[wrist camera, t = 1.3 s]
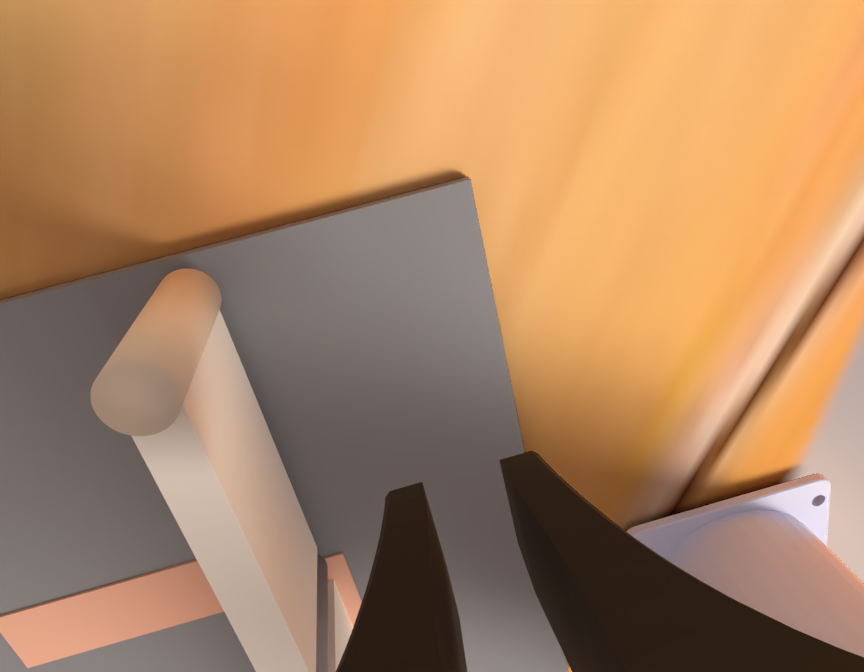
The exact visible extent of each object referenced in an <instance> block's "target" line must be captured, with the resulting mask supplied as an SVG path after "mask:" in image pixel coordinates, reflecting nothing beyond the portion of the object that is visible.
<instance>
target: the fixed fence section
mask: <svg viewBox="0 0 864 672" xmlns="http://www.w3.org/2000/svg"><path fill="white" fill-rule="evenodd" d="M352 630H353V625H352V623H351V620H350V618H349V616H348V613H347V611H346V608H345V606H344V603H343V601H342V598H341V596H340V593H339V591H338V588H337V586H336V584H335V581H334V580H331V581H328V672H336V670H337V667H338V665H339V663H340V660H341V658H342V655H343V653H344V651H345V648H346V645H347V643H348V640H349V638H350V635H351V632H352Z"/></svg>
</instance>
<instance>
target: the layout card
mask: <svg viewBox="0 0 864 672" xmlns="http://www.w3.org/2000/svg"><path fill="white" fill-rule="evenodd" d="M185 268H188V269H195V270H199V271H201V272H204V273H205V274H207V275H208V276H210V277H211V278H212V279H213V280H214V281H215V282H216V284H217V285H218V287H219V289H220V292H221V297H222V301H221V307H220V312H221V314H222V316H223V319H224V321H225V324H226V326H227V329H228V331H229V333H230V336H231V338H232V341H233V343H234V346H235V348H236V351H237V353H238V355H239V358H240V360H241V363H242V365H243V368H244V370H245V373H246V375H247V377H248V380H249V382H250V385H251V387H252V390H253V392H254V394H255V397H256V399H257V402H258V404H259V407H260V409H261V412H262V414H263V416H264V419H265V421H266V424H267V426H268V429H269V431H270V433H271V436H272V438H273V441H274V443H275V446H276V448H277V451H278V453H279V455H280V458H281V460H282V463H283V465H284V468H285V470H286V472H287V475H288V477H289V480H290V482H291V485H292V487H293V490H294V492H295V494H296V497H297V499H298V502H299V504H300V507H301V509H302V511H303V514H304V516H305V519H306V521H307V524H308V526H309V529H310V531H311V533H312V536H313V538H314V541H315V543H316V546H317V554H319V555H321V556H322V557H323V558H324V559H325V560H326V562H327V566H328V581H331V580H334V581H335V584H336V586H337V588H338V591H339V593H340V596H341V598H342V601H343V603H344V606H345V608H346V611H347V613H348V616H349V618H350V620H351V623H352V625H353V627H354V624H355V621H356V618H357V615H358V612H359V609H360V606H361V603H362V600H363V597H364V594H365V591H366V588H367V584H368V581H369V577H370V573H371V569H372V566H373V562H374V558H375V554H376V550H377V546H378V541H379V537H380V532H381V527H382V521H383V515H384V507H385V497H386V496H387V494H388V493H389V491H392V490H395V489H399V488H402V487H406V486H409V485H413V484H416V483H420V482H422V483H423V486H424V490H425V493H426V497H427V500H428V503H429V507H430V510H431V514H432V517H433V520H434V524H435V527H436V531H437V534H438V537H439V541H440V544H441V548H442V551H443V554H444V558H445V561H446V565H447V569H448V573H449V577H450V581H451V585H452V589H453V593H454V597H455V601H456V605H457V609H458V613H459V618H460V624H461V631H462V638H463V645H464V652H465V659H466V666H467V672H568V668H567V662H566V657H565V655H564V653H563V651H562V649H561V646H560V644H559V642H558V640H557V638H556V636H555V634H554V632H553V630H552V628H551V625H550V623H549V621H548V619H547V617H546V615H545V613H544V611H543V608H542V606H541V604H540V602H539V600H538V598H537V596H536V593H535V591H534V588H533V585H532V582H531V579H530V577H529V574H528V571H527V568H526V565H525V562H524V559H523V556H522V554H521V551H520V548H519V545H518V542H517V537H516V533H515V528H514V524H513V519H512V515H511V510H510V506H509V501H508V497H507V492H506V488H505V483H504V479H503V474H502V470H501V465H500V460H501V459H504V458H508V457H511V456H515V455H518V454H522V453H525V451H524V446H523V441H522V436H521V431H520V426H519V421H518V416H517V411H516V406H515V401H514V396H513V391H512V386H511V381H510V376H509V371H508V366H507V361H506V356H505V351H504V346H503V340H502V335H501V330H500V325H499V320H498V315H497V310H496V305H495V300H494V295H493V290H492V285H491V280H490V275H489V270H488V265H487V260H486V255H485V250H484V245H483V240H482V235H481V230H480V225H479V220H478V215H477V210H476V205H475V200H474V195H473V190H472V185H471V179H470V178H469V177H464V178H460V179H456V180H452V181H449V182H445V183H441V184H437V185H433V186H430V187H426V188H422V189H418V190H415V191H411V192H407V193H403V194H399V195H396V196H392V197H388V198H384V199H381V200H377V201H373V202H369V203H365V204H362V205H358V206H354V207H350V208H347V209H343V210H339V211H335V212H331V213H328V214H324V215H320V216H316V217H313V218H309V219H305V220H301V221H297V222H294V223H290V224H286V225H282V226H279V227H275V228H271V229H267V230H263V231H260V232H256V233H252V234H248V235H244V236H241V237H237V238H233V239H229V240H226V241H222V242H218V243H214V244H210V245H207V246H203V247H199V248H195V249H192V250H188V251H184V252H180V253H176V254H173V255H169V256H165V257H161V258H158V259H154V260H150V261H146V262H142V263H139V264H135V265H131V266H127V267H124V268H120V269H116V270H112V271H108V272H105V273H101V274H97V275H93V276H90V277H86V278H82V279H78V280H74V281H71V282H67V283H63V284H59V285H55V286H52V287H48V288H44V289H40V290H37V291H33V292H29V293H25V294H21V295H18V296H14V297H10V298H6V299H3V300H0V672H256V671H255V669H254V667H253V665H252V663H251V661H250V659H249V658H248V656H247V654H246V652H245V650H244V648H243V646H242V644H241V642H240V641H239V639H238V637H237V635H236V633H235V631H234V629H233V627H232V625H231V624H230V622H229V620H228V618H227V616H226V614H225V612H224V610H223V608H222V606H221V605H220V603H219V601H218V599H217V597H216V595H215V593H214V591H213V589H212V588H211V586H210V584H209V582H208V580H207V578H206V576H205V574H204V572H203V571H202V569H201V567H200V565H199V563H198V561H197V559H196V557H195V555H194V554H193V552H192V550H191V548H190V546H189V544H188V542H187V540H186V538H185V536H184V535H183V533H182V531H181V529H180V527H179V525H178V523H177V521H176V519H175V518H174V516H173V514H172V512H171V510H170V508H169V506H168V504H167V502H166V501H165V499H164V497H163V495H162V493H161V491H160V489H159V487H158V485H157V484H156V482H155V480H154V478H153V476H152V474H151V472H150V470H149V468H148V466H147V465H146V463H145V461H144V459H143V457H142V455H141V453H140V451H139V449H138V448H137V446H136V444H135V442H134V440H133V438H132V436H131V435H126V434H123V433H120V432H117V431H115V430H113V429H112V428H110V427H108V426H107V425H106V424H104V423H103V422H102V421H101V420H100V419H99V417H98V416H97V415H96V413H95V412H94V409H93V407H92V404H91V398H90V393H91V388H92V385H93V383H94V381H95V379H96V378H97V376H98V375H99V373H100V372H101V370H102V369H103V367H104V366H105V364H106V363H107V361H108V360H109V358H110V357H111V355H112V354H113V352H114V351H115V349H116V348H117V346H118V345H119V344H120V342H121V341H122V339H123V338H124V336H125V335H126V333H127V332H128V330H129V329H130V327H131V326H132V324H133V323H134V321H135V320H136V318H137V317H138V315H139V314H140V312H141V311H142V309H143V308H144V306H145V305H146V303H147V302H148V300H149V299H150V298H151V296H152V295H153V293H154V292H155V290H156V289H157V287H158V286H159V284H160V283H161V281H162V280H163V279H164V277H165V276H167V275H168V274H169V273H171V272H173V271H175V270H178V269H185Z"/></svg>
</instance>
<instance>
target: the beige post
mask: <svg viewBox="0 0 864 672" xmlns="http://www.w3.org/2000/svg"><path fill="white" fill-rule="evenodd" d="M221 301H222V297H221V292H220V289H219V287H218V285H217V284H216V282H215V281H214V280H213V279H212V278H211V277H210V276H208V275H207V274H205V273H204V272H201V271H199V270H195V269H188V268H185V269H178V270H175V271H173V272H171V273H169V274H168V275H167V276H165V277H164V279H163V280H162V281H161V283H160V284H159V286H158V287H157V289H156V290H155V292H154V293H153V295H152V296H151V298H150V299H149V300H148V302H147V303H146V305H145V306H144V308H143V309H142V311H141V312H140V314H139V315H138V317H137V318H136V320H135V321H134V323H133V324H132V326H131V327H130V329H129V330H128V332H127V333H126V335H125V336H124V338H123V339H122V341H121V342H120V344H119V345H118V346H117V348H116V349H115V351H114V352H113V354H112V355H111V357H110V358H109V360H108V361H107V363H106V364H105V366H104V367H103V369H102V370H101V372H100V373H99V375H98V376H97V378H96V379H95V381H94V383H93V385H92V388H91V393H90V398H91V404H92V407H93V409H94V412H95V413H96V415H97V416H98V417H99V419H100V420H101V421H102V422H103V423H104V424H106V425H107V426H108V427H110V428H112V429H113V430H115V431H117V432H120V433H123V434H126V435H131V436H132V438H133V440H134V442H135V444H136V446H137V448H138V449H139V451H140V453H141V455H142V457H143V459H144V461H145V463H146V465H147V466H148V468H149V470H150V472H151V474H152V476H153V478H154V480H155V482H156V484H157V485H158V487H159V489H160V491H161V493H162V495H163V497H164V499H165V501H166V502H167V504H168V506H169V508H170V510H171V512H172V514H173V516H174V518H175V519H176V521H177V523H178V525H179V527H180V529H181V531H182V533H183V535H184V536H185V538H186V540H187V542H188V544H189V546H190V548H191V550H192V552H193V554H194V555H195V557H196V559H197V561H198V563H199V565H200V567H201V569H202V571H203V572H204V574H205V576H206V578H207V580H208V582H209V584H210V586H211V588H212V589H213V591H214V593H215V595H216V597H217V599H218V601H219V603H220V605H221V606H222V608H223V610H224V612H225V614H226V616H227V618H228V620H229V622H230V624H231V625H232V627H233V629H234V631H235V633H236V635H237V637H238V639H239V641H240V642H241V644H242V646H243V648H244V650H245V652H246V654H247V656H248V658H249V659H250V661H251V663H252V665H253V667H254V669H255V671H256V672H328V566H327V562H326V560H325V559H324V558H323V557H322V556H321V555H319V554H317V546H316V543H315V541H314V538H313V536H312V533H311V531H310V529H309V526H308V524H307V521H306V519H305V516H304V514H303V511H302V509H301V507H300V504H299V502H298V499H297V497H296V494H295V492H294V490H293V487H292V485H291V482H290V480H289V477H288V475H287V472H286V470H285V468H284V465H283V463H282V460H281V458H280V455H279V453H278V451H277V448H276V446H275V443H274V441H273V438H272V436H271V433H270V431H269V429H268V426H267V424H266V421H265V419H264V416H263V414H262V412H261V409H260V407H259V404H258V402H257V399H256V397H255V394H254V392H253V390H252V387H251V385H250V382H249V380H248V377H247V375H246V373H245V370H244V368H243V365H242V363H241V360H240V358H239V355H238V353H237V351H236V348H235V346H234V343H233V341H232V338H231V336H230V333H229V331H228V329H227V326H226V324H225V321H224V319H223V316H222V314H221V312H220V307H221Z"/></svg>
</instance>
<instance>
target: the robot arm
mask: <svg viewBox="0 0 864 672" xmlns="http://www.w3.org/2000/svg"><path fill="white" fill-rule="evenodd" d="M500 465H501V470H502V474H503V479H504V483H505V488H506V492H507V497H508V501H509V506H510V510H511V515H512V519H513V524H514V528H515V533H516V537H517V542H518V545H519V548H520V551H521V554H522V556H523V559H524V562H525V565H526V568H527V571H528V574H529V577H530V579H531V582H532V585H533V588H534V591H535V593H536V596H537V598H538V600H539V602H540V604H541V606H542V608H543V611H544V613H545V615H546V617H547V619H548V621H549V623H550V625H551V628H552V630H553V632H554V634H555V636H556V638H557V640H558V642H559V644H560V646H561V649H562V651H563V653H564V655H565V657H566V659H567V661H568V663H569V665H570V667H571V670H572V672H864V583H863V582H862V581H861V580H860V579H859V578H858V577H857V576H856V575H855V574H854V573H853V572H852V571H851V570H850V569H849V568H848V567H847V566H846V565H845V564H844V563H843V562H842V561H841V560H840V559H839V558H838V557H837V556H836V555H835V554H834V553H833V552H832V551H831V550H830V549H829V548H828V547H827V537H828V522H829V507H830V506H829V505H830V490H831V484H830V482H829V481H828V480H827V479H826V478H825V477H824V476H823V475H821V474H813V475H809V476H805V477H802V478H798V479H795V480H792V481H788V482H785V483H781V484H778V485H774V486H771V487H768V488H764V489H761V490H757V491H754V492H750V493H747V494H744V495H740V496H737V497H733V498H730V499H726V500H723V501H720V502H716V503H713V504H709V505H706V506H702V507H699V508H695V509H692V510H689V511H685V512H682V513H678V514H675V515H671V516H668V517H665V518H661V519H658V520H654V521H651V522H647V523H644V524H641V525H637V526H634V527H632V528H630V529H629V530H627V531H625V530H623V529H622V528H621V527H620V526H618V525H617V524H616V523H614V522H613V521H612V520H610V519H609V518H608V517H607V516H605V515H604V514H603V513H602V512H601V511H599V510H598V509H597V508H596V507H594V506H593V505H592V504H591V503H589V502H588V501H587V500H586V499H585V498H584V497H582V496H581V495H580V494H579V493H578V492H577V491H575V490H574V489H573V488H572V487H571V486H570V485H569V484H568V483H567V482H566V481H564V480H563V479H562V478H561V477H560V476H559V475H558V474H557V473H556V472H555V471H554V470H553V469H552V468H551V467H550V466H549V465H548V464H547V463H546V462H545V461H544V460H543V459H542V458H541V457H540V456H539V455H538V454H537V453H535V452H533V451H529V452H525V453H522V454H518V455H515V456H511V457H508V458H504V459H501V460H500ZM336 672H467V666H466V659H465V652H464V645H463V638H462V631H461V624H460V618H459V613H458V609H457V605H456V601H455V597H454V593H453V589H452V585H451V581H450V577H449V573H448V569H447V565H446V561H445V558H444V554H443V551H442V548H441V544H440V541H439V537H438V534H437V531H436V527H435V524H434V520H433V517H432V514H431V510H430V507H429V503H428V500H427V497H426V493H425V490H424V486H423V483H422V482H420V483H416V484H413V485H409V486H406V487H402V488H399V489H395V490H392V491H389V493H388V494H387V496H386V497H385V507H384V515H383V521H382V527H381V532H380V537H379V541H378V546H377V550H376V554H375V558H374V562H373V566H372V569H371V573H370V577H369V581H368V584H367V588H366V591H365V594H364V597H363V600H362V603H361V606H360V609H359V612H358V615H357V618H356V621H355V624H354V627H353V630H352V632H351V635H350V638H349V640H348V643H347V645H346V648H345V651H344V653H343V655H342V658H341V660H340V663H339V665H338V667H337V670H336Z"/></svg>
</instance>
